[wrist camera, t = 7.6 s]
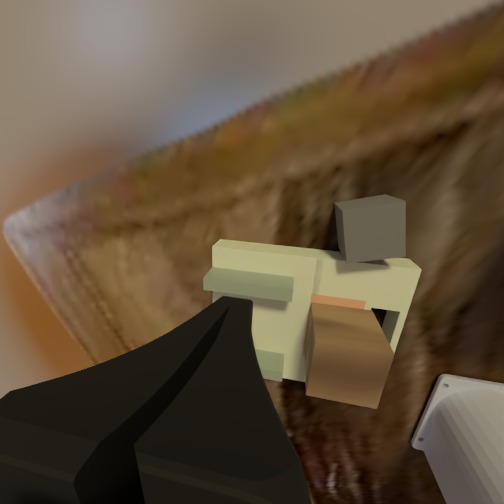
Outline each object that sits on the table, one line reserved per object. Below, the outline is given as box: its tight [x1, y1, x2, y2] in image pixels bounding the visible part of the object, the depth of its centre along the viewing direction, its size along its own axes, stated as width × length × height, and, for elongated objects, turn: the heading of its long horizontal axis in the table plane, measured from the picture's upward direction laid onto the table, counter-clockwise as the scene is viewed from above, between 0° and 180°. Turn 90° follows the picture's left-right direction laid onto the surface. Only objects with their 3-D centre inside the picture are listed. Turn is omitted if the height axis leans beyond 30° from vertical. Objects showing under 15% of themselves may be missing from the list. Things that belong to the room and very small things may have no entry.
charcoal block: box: [334, 194, 406, 263], centre depth 16 cm, size 4×4×4 cm
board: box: [203, 239, 422, 382], centre depth 20 cm, size 12×15×4 cm
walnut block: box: [304, 302, 394, 409], centre depth 17 cm, size 4×4×4 cm
